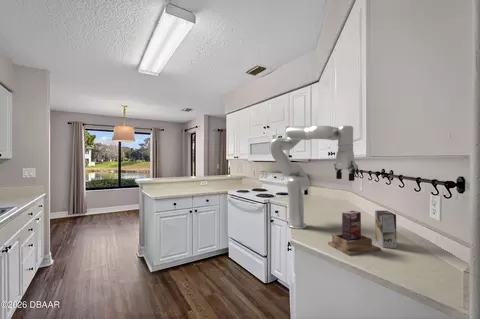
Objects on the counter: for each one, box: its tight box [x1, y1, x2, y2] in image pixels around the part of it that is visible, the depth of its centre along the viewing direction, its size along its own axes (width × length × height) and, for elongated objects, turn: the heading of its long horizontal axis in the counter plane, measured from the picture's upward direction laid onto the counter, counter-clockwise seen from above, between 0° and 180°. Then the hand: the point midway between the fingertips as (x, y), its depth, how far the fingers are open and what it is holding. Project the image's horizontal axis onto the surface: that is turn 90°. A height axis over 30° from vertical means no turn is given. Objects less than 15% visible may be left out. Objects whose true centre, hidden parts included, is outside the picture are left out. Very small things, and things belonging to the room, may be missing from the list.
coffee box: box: [374, 210, 398, 249], centre depth 112 cm, size 9×6×16 cm
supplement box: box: [341, 210, 362, 241], centre depth 109 cm, size 9×5×16 cm, turn 122°
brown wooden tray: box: [327, 233, 381, 257], centre depth 109 cm, size 14×18×5 cm
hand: (345, 179), depth 124 cm, fingers open, 9 cm apart
